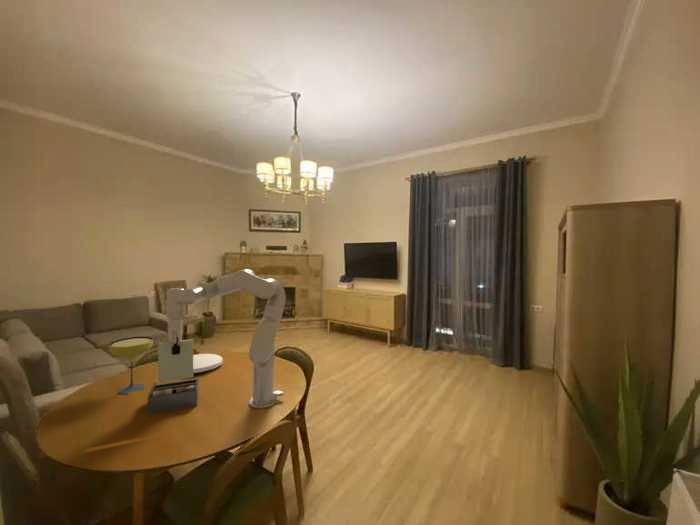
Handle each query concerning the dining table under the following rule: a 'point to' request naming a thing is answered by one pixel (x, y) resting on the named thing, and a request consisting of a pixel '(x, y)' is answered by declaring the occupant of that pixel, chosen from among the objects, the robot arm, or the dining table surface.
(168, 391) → the brown offcut
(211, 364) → the plate
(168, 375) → the sage sheet
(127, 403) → the dining table surface
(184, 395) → the rack
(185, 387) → the walnut offcut
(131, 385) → the cocktail glass
